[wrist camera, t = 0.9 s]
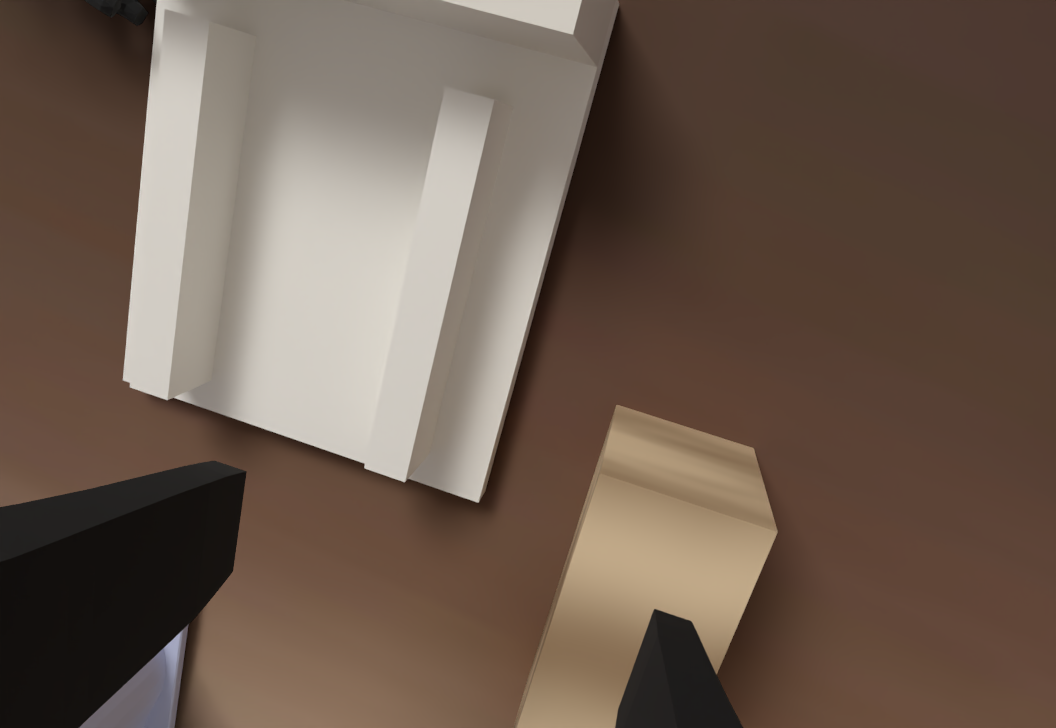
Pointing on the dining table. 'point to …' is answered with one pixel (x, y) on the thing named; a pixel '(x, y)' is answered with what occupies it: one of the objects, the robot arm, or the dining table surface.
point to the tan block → (648, 563)
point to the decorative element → (122, 9)
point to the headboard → (357, 216)
